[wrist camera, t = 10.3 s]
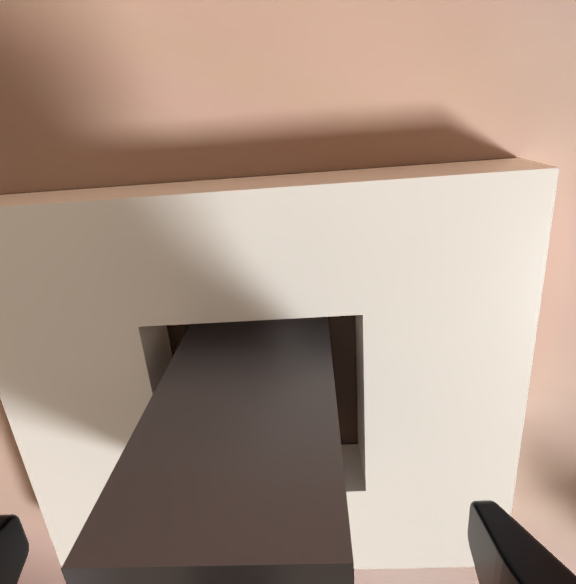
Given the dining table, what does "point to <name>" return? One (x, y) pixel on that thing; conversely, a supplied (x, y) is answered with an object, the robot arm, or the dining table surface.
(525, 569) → the robot arm
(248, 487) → the charger brick
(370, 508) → the outlet plate
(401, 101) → the dining table surface
